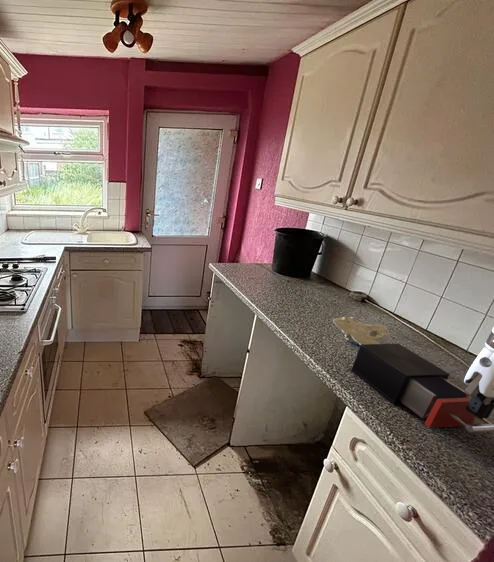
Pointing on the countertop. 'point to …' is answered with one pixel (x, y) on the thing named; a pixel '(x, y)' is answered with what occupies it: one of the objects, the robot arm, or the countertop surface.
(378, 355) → the black drawer housing
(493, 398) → the robot arm
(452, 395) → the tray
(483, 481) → the countertop surface
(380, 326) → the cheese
